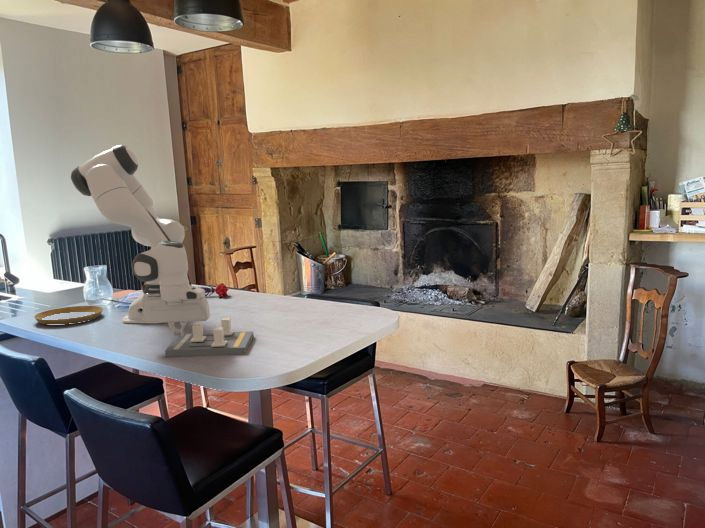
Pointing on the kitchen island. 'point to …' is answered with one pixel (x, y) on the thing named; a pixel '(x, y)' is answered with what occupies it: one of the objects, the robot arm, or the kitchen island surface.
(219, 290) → the figurine
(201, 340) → the switch mid
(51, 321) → the plant saucer
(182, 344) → the switch board
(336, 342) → the kitchen island surface
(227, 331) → the switch far
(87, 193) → the robot arm
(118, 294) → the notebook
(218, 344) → the switch near
